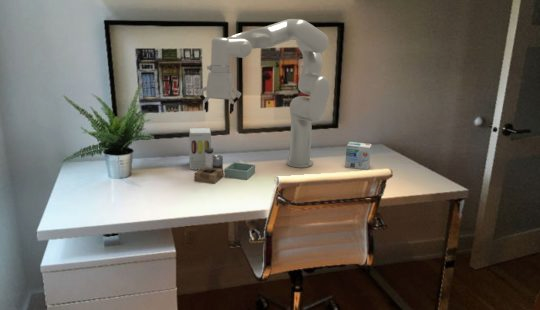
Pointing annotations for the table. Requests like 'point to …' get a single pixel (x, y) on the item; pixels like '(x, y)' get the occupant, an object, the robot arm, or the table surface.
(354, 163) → the light bulb box
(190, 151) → the supplement box
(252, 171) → the tray
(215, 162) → the grey cylinder
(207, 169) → the pin
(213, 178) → the brown square open box
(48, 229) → the table surface
